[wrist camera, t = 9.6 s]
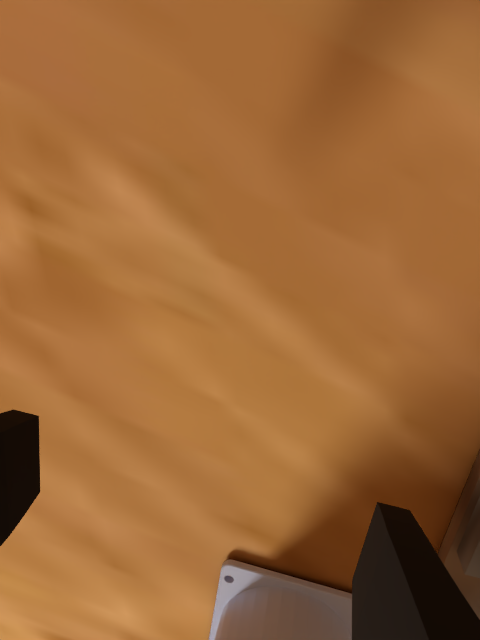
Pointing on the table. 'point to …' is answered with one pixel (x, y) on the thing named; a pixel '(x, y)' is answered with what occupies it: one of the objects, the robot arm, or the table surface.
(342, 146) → the table surface
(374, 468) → the table surface
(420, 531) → the robot arm
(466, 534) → the picture frame
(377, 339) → the table surface
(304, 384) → the table surface
